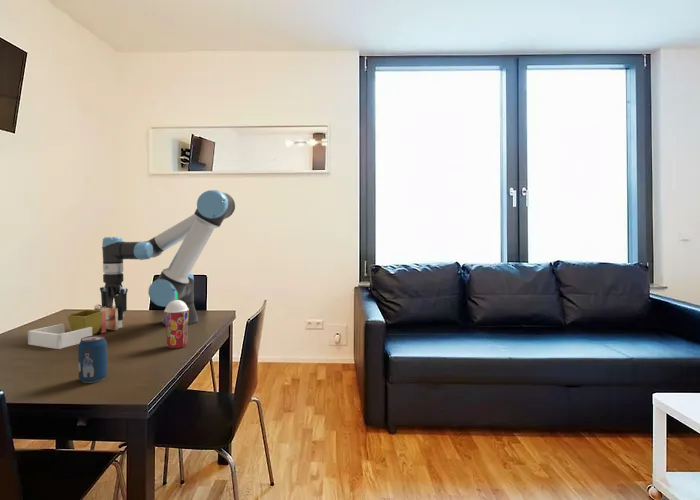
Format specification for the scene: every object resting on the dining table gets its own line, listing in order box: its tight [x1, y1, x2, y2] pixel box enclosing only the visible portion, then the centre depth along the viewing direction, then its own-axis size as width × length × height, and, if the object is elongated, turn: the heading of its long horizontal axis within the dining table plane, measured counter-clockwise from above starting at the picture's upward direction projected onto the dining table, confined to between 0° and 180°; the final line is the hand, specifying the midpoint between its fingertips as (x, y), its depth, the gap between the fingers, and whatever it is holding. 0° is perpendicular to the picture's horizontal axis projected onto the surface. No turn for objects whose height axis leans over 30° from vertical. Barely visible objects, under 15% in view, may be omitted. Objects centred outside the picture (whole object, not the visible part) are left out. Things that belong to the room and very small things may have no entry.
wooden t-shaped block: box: [93, 303, 126, 334], centre depth 174 cm, size 9×13×11 cm
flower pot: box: [67, 309, 103, 336], centre depth 165 cm, size 9×9×9 cm
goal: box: [27, 323, 93, 350], centre depth 155 cm, size 16×13×5 cm
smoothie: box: [163, 292, 189, 349], centre depth 151 cm, size 8×8×20 cm
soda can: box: [77, 334, 108, 384], centre depth 117 cm, size 7×7×12 cm
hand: (114, 327), depth 177 cm, fingers open, 4 cm apart
